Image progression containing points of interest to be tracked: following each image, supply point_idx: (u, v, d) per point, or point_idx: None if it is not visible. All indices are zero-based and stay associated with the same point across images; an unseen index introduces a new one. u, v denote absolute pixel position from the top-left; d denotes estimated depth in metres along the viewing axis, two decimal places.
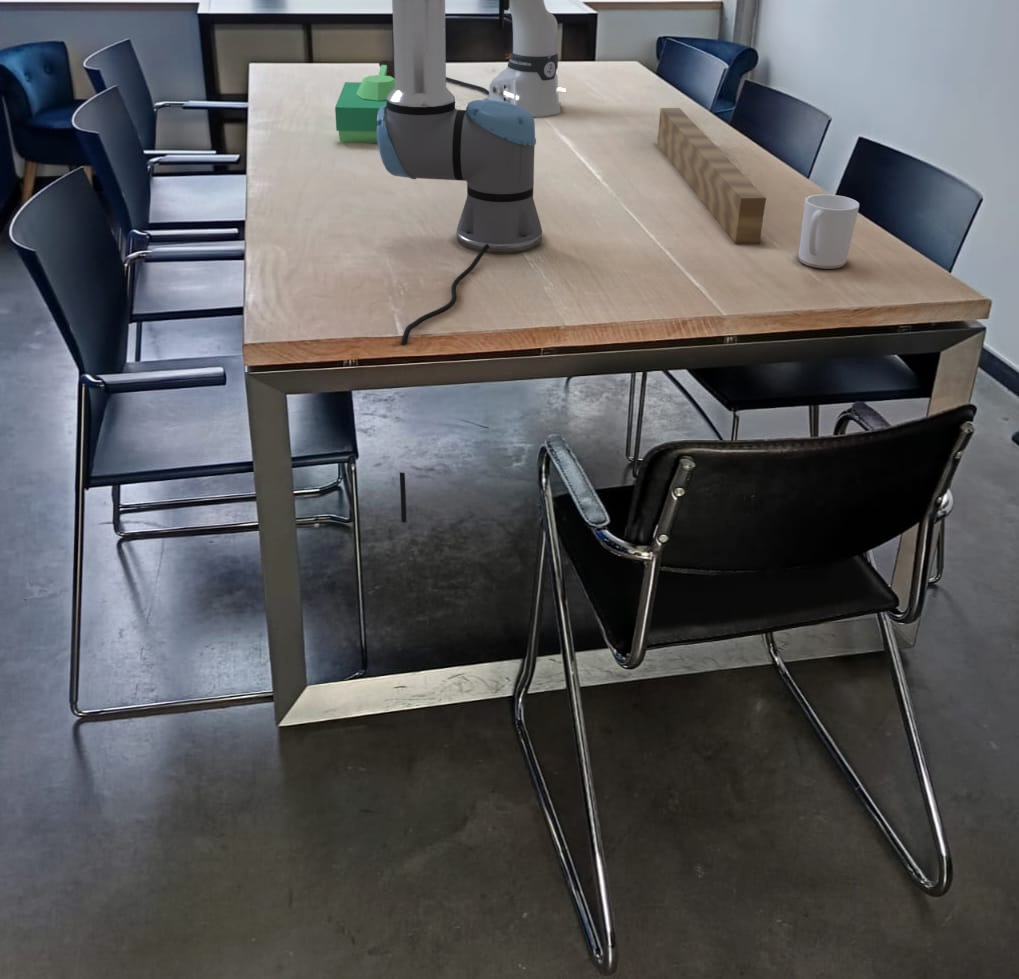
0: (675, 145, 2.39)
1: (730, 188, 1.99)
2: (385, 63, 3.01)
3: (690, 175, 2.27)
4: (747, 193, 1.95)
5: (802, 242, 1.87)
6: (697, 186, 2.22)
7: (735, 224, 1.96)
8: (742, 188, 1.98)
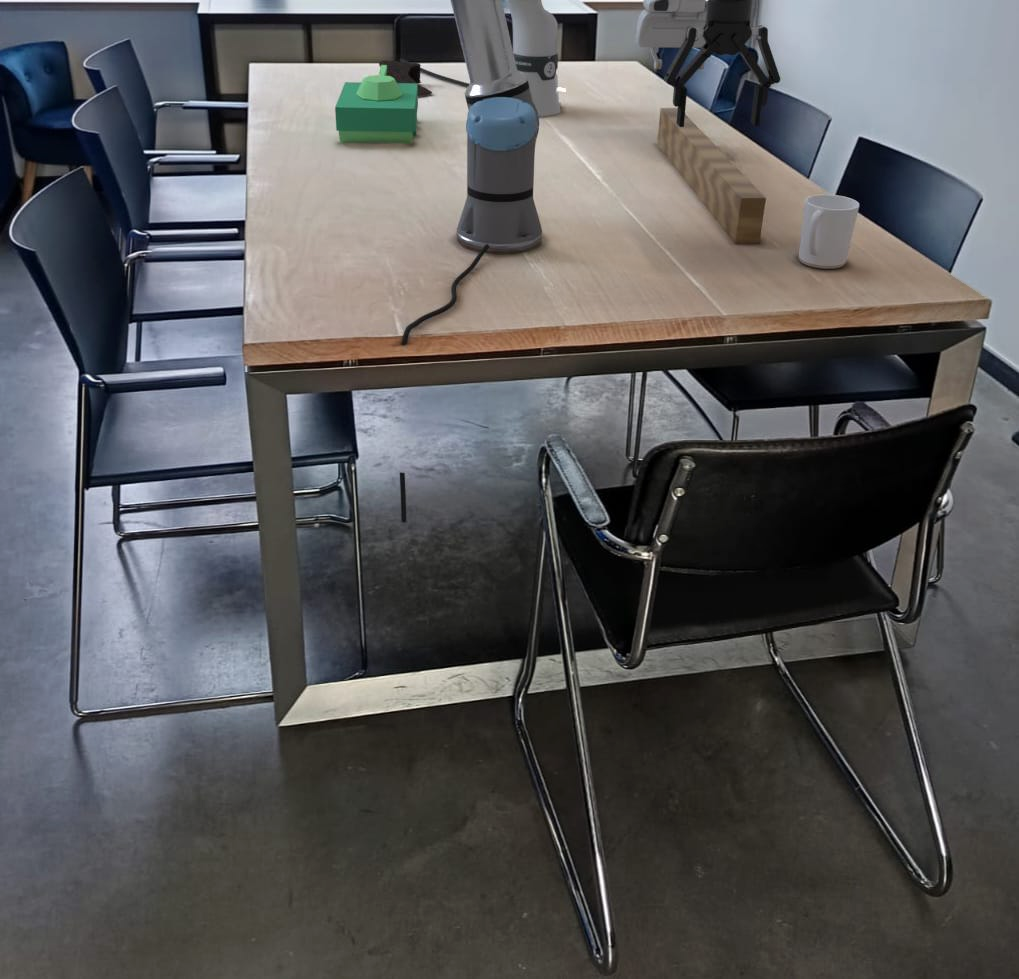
0: (675, 145, 2.39)
1: (730, 188, 1.99)
2: (385, 63, 3.01)
3: (690, 175, 2.27)
4: (747, 193, 1.95)
5: (802, 242, 1.87)
6: (697, 186, 2.22)
7: (735, 224, 1.96)
8: (742, 188, 1.98)
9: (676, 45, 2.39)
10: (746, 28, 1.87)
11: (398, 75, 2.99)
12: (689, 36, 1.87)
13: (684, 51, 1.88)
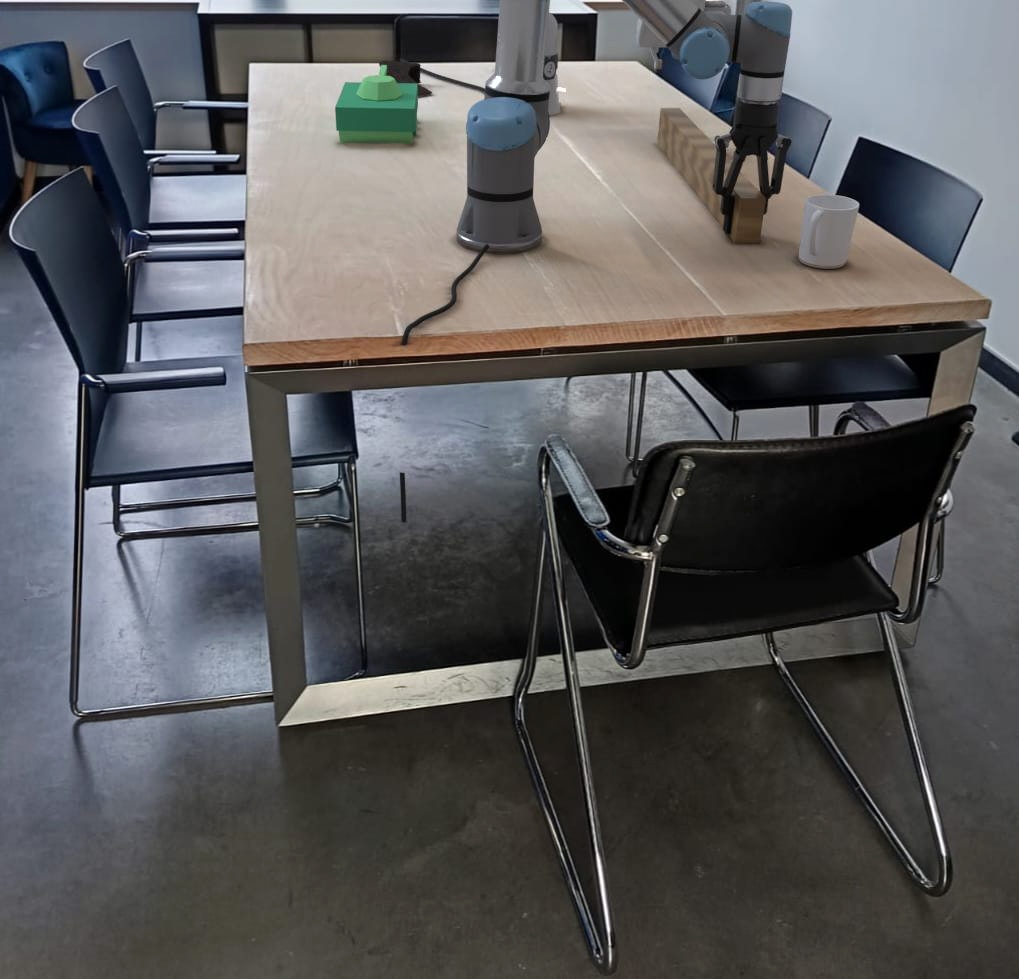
0: (675, 145, 2.39)
1: None
2: (385, 63, 3.01)
3: (690, 175, 2.27)
4: (747, 193, 1.95)
5: (802, 242, 1.87)
6: (697, 186, 2.22)
7: (735, 224, 1.96)
8: (742, 188, 1.98)
9: None
10: (773, 130, 1.91)
11: (398, 75, 2.99)
12: (719, 147, 1.92)
13: (720, 161, 1.93)
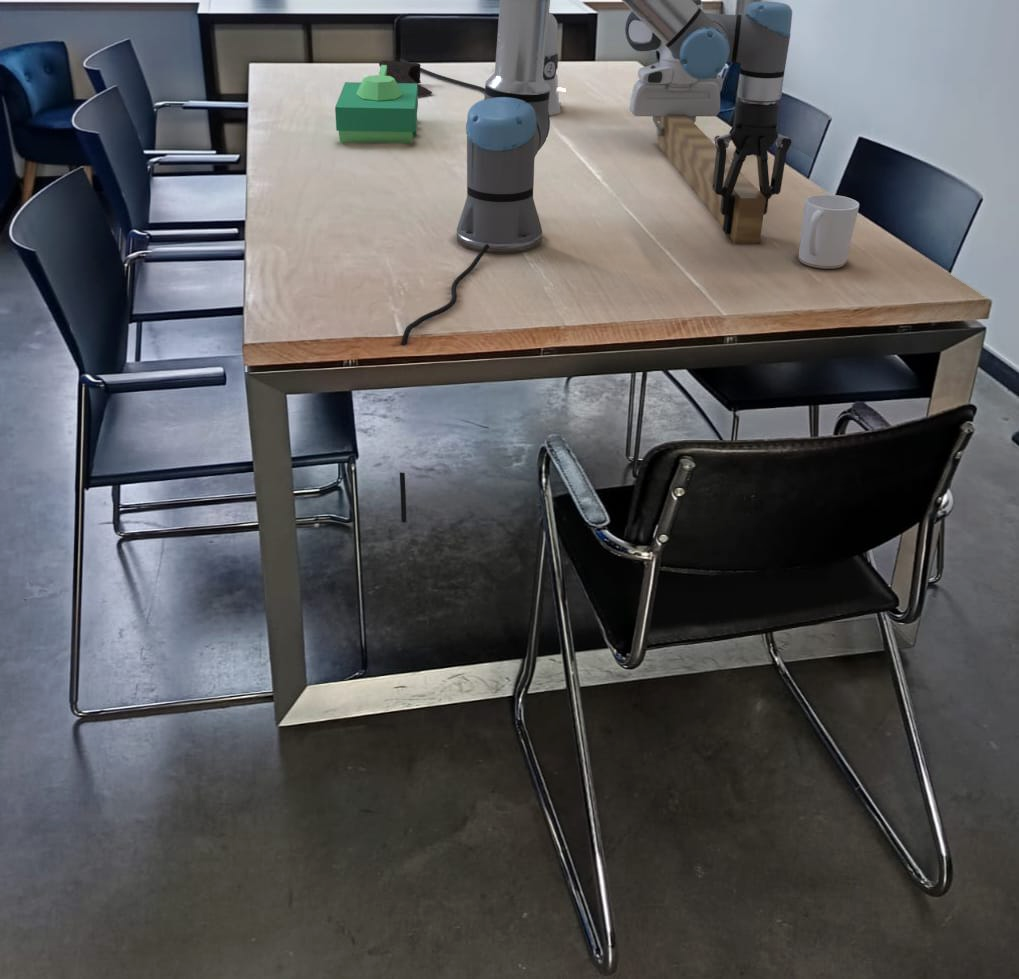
0: (675, 145, 2.39)
1: None
2: (385, 63, 3.01)
3: (690, 175, 2.27)
4: (747, 193, 1.95)
5: (802, 242, 1.87)
6: (697, 186, 2.22)
7: (735, 224, 1.96)
8: (742, 188, 1.98)
9: (669, 114, 2.47)
10: (773, 130, 1.91)
11: (398, 75, 2.99)
12: (719, 147, 1.92)
13: (720, 161, 1.93)
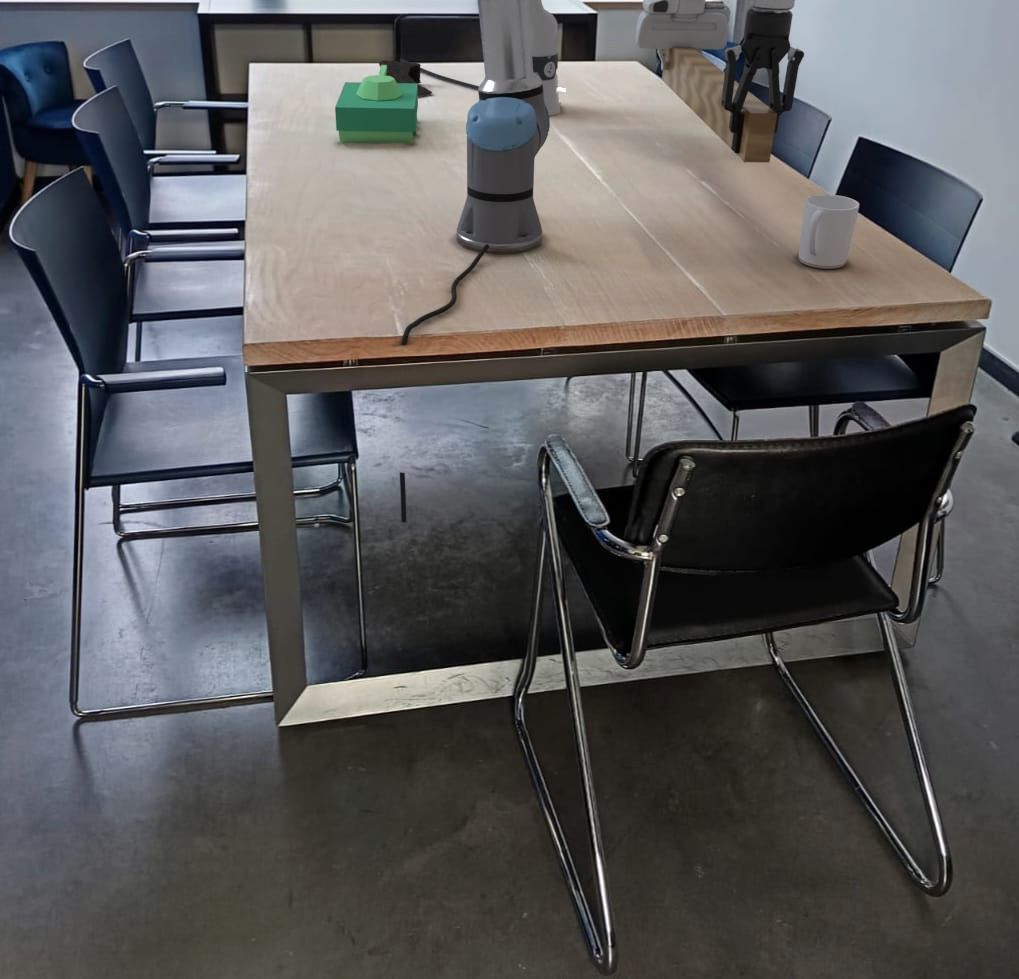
0: (681, 76, 2.32)
1: None
2: (385, 63, 3.01)
3: (696, 103, 2.20)
4: (757, 109, 1.88)
5: (802, 242, 1.87)
6: (704, 112, 2.14)
7: (745, 141, 1.89)
8: (752, 105, 1.90)
9: (675, 46, 2.39)
10: (785, 42, 1.83)
11: (398, 75, 2.99)
12: (729, 59, 1.84)
13: (729, 74, 1.85)
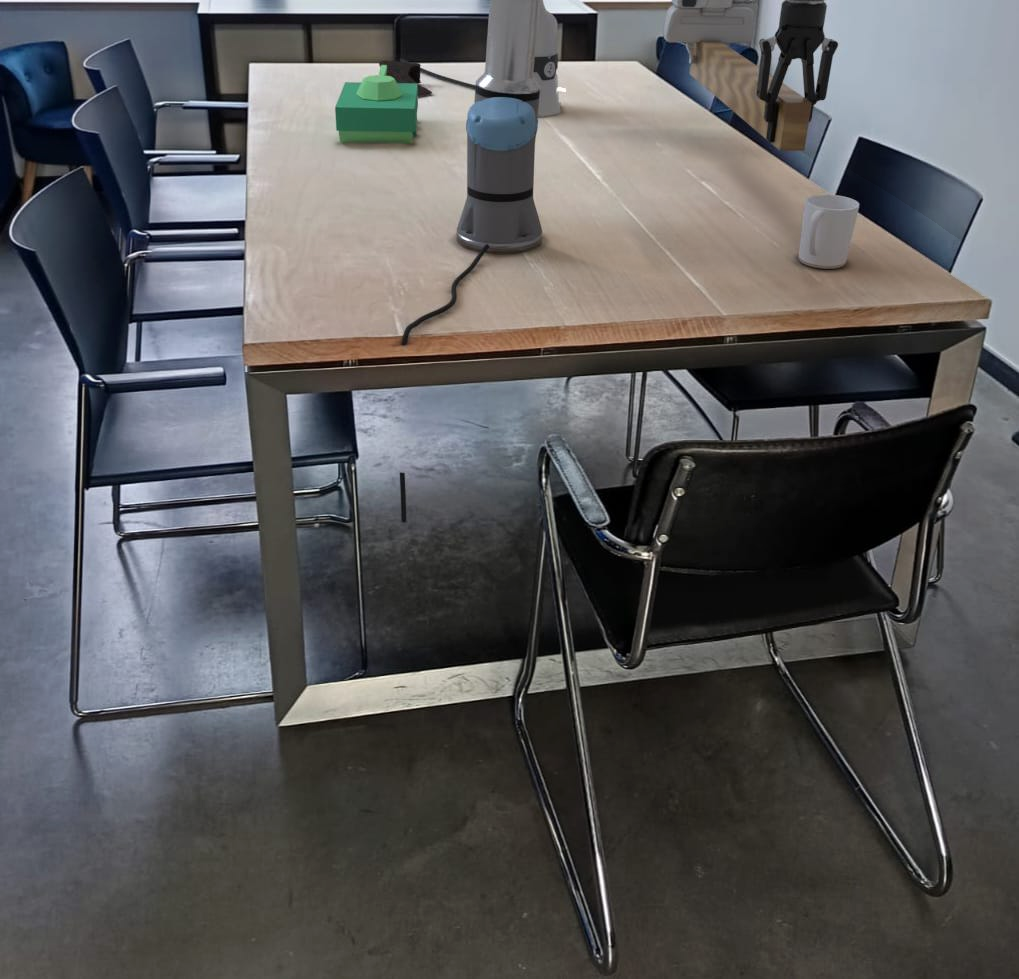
0: (710, 69, 2.36)
1: None
2: (385, 63, 3.01)
3: (727, 95, 2.24)
4: (792, 98, 1.92)
5: (802, 242, 1.87)
6: (736, 104, 2.18)
7: (780, 130, 1.93)
8: (787, 95, 1.95)
9: (703, 40, 2.43)
10: (819, 32, 1.87)
11: (398, 75, 2.99)
12: (764, 50, 1.88)
13: (765, 65, 1.89)
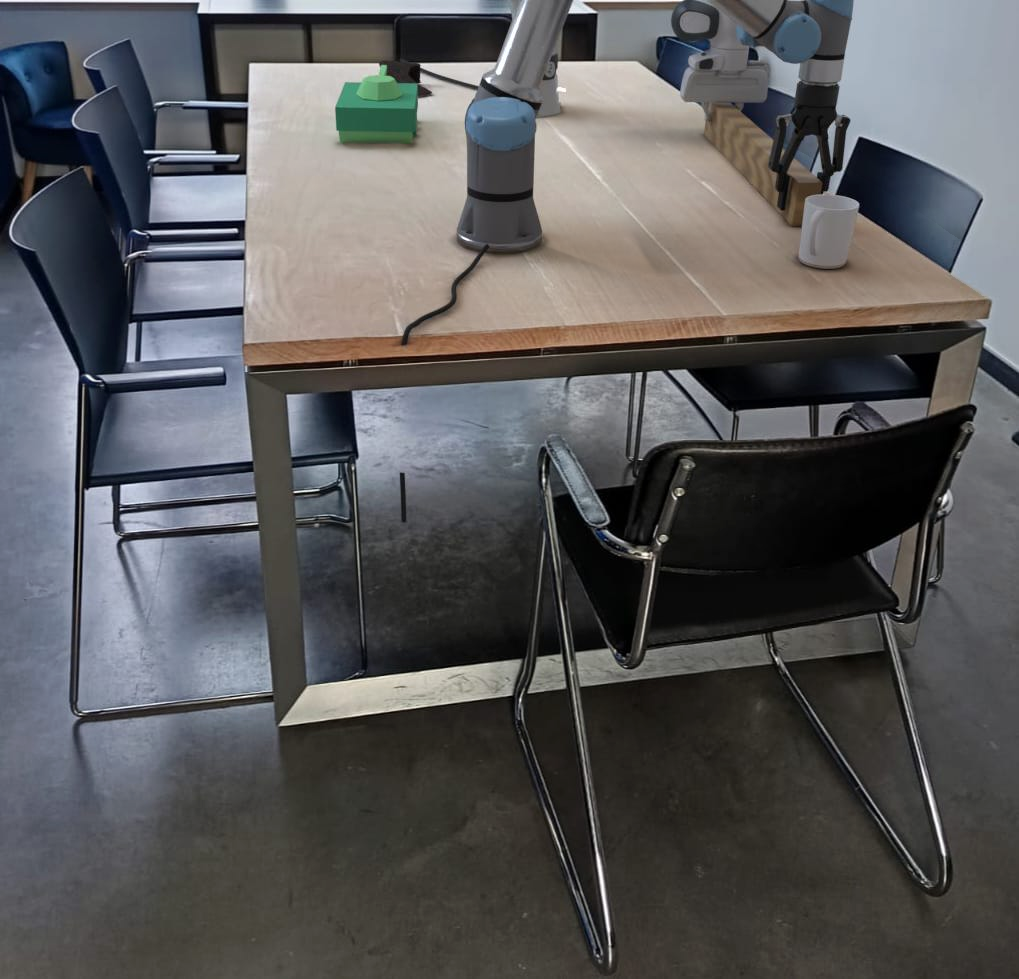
0: (724, 134, 2.48)
1: None
2: (385, 63, 3.01)
3: (741, 163, 2.36)
4: (803, 177, 2.04)
5: (802, 242, 1.87)
6: (749, 173, 2.31)
7: (792, 207, 2.05)
8: (799, 173, 2.07)
9: (718, 100, 2.55)
10: (832, 111, 1.99)
11: (398, 75, 2.99)
12: (780, 126, 2.00)
13: (779, 140, 2.01)
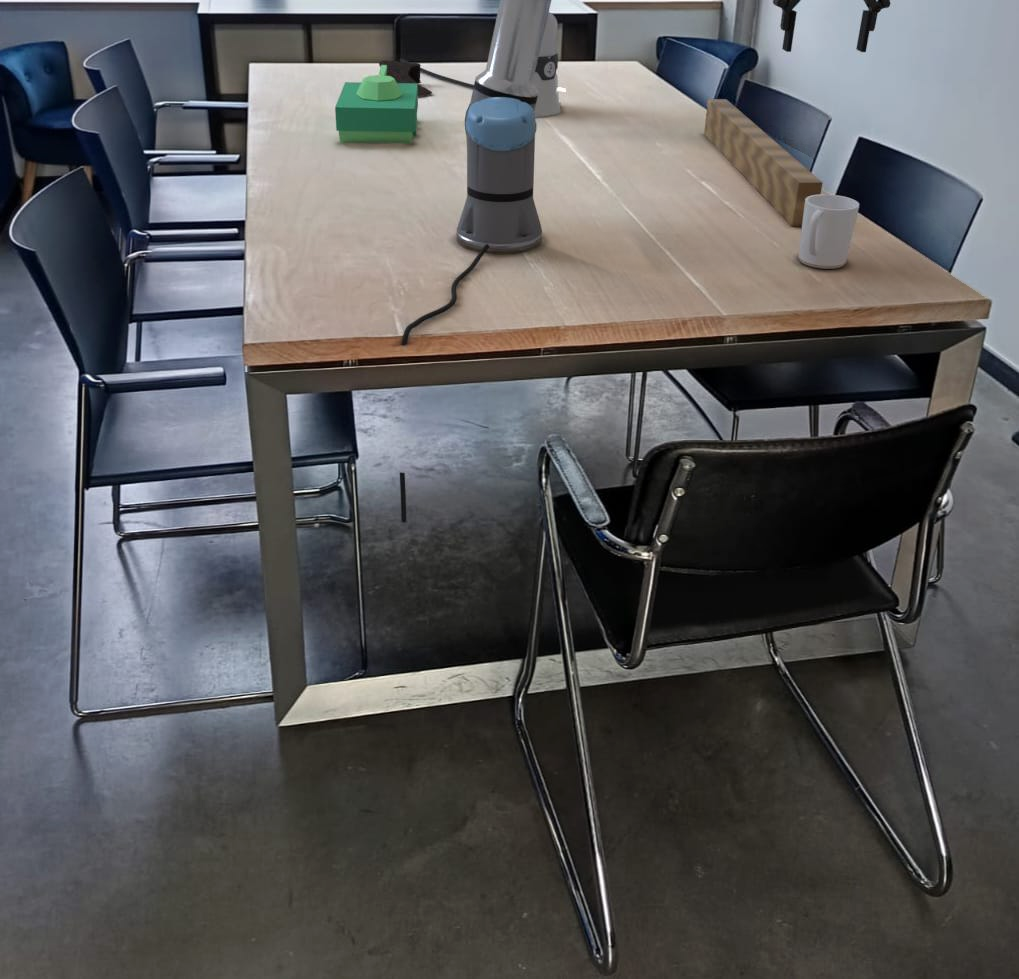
0: (724, 134, 2.48)
1: (787, 173, 2.08)
2: (385, 63, 3.01)
3: (741, 163, 2.36)
4: (803, 177, 2.04)
5: (802, 242, 1.87)
6: (749, 173, 2.31)
7: (792, 207, 2.05)
8: (799, 173, 2.07)
9: None
10: None
11: (398, 75, 2.99)
12: None
13: None
